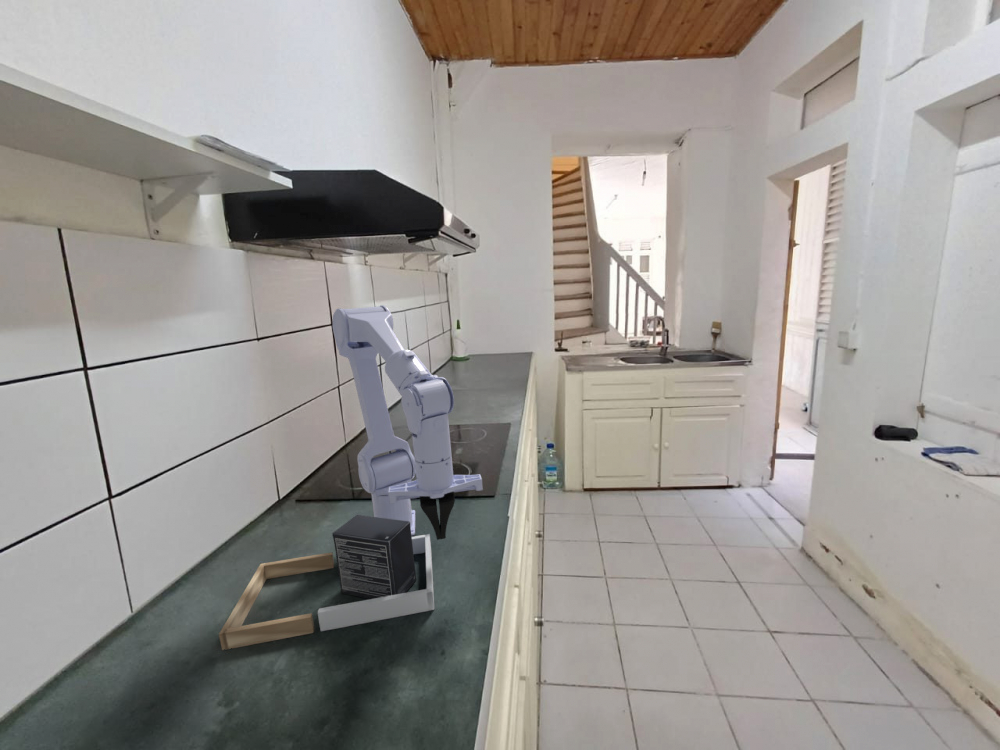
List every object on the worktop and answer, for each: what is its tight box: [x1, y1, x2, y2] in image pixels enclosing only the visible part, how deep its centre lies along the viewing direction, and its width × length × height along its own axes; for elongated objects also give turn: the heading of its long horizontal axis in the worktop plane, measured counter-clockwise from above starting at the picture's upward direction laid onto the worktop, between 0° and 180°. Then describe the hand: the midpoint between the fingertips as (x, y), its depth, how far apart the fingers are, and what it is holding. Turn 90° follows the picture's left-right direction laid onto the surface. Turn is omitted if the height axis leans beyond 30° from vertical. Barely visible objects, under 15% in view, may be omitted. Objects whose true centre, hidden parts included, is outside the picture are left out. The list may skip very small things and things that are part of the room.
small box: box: [332, 514, 417, 600], centre depth 67 cm, size 11×6×10 cm, turn 71°
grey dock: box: [317, 533, 435, 632], centre depth 68 cm, size 16×16×3 cm
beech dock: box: [218, 551, 335, 651], centre depth 65 cm, size 16×12×2 cm
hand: (440, 535), depth 69 cm, fingers closed
